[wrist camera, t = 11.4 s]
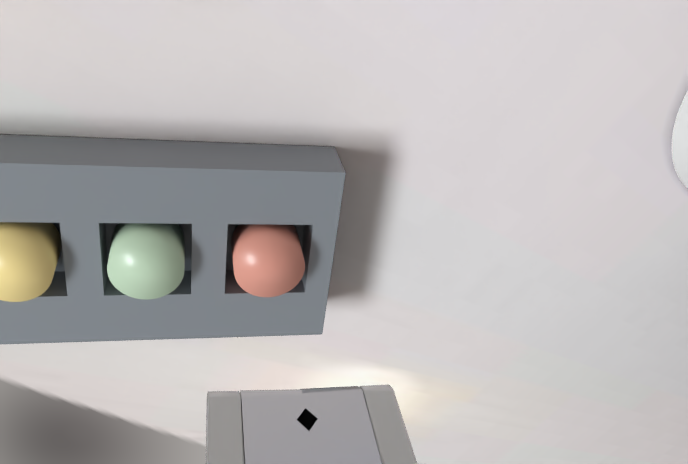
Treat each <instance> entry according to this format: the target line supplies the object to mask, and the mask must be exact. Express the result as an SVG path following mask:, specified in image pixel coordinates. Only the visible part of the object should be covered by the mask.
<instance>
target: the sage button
mask: <svg viewBox="0 0 688 464" xmlns="http://www.w3.org/2000/svg"><path fill="white" fill-rule="evenodd" d="M184 267H185V238H184V234H183V231H182V229H181V228H180V226H179V225H178V224H156V223H118V225H117V226H116V228H115V229H114V232H113V236H112V242H111V247H110V253H109V259H108V264H107V273H108V277H109V279H110V281H111V283H112V284H113V286H114V287H115V288H116V289H117V290H119V291H120V292H122V293H123V294H125V295H127V296H130V297H132V298H137V299H146V300H148V299H156V298H160V297H163V296H166V295H167V294H169V293H171V292H172V291H174V290H175V289H176V288H177V287H178V286H179V284H180V283H181V281H182V279H183V276H184Z"/></svg>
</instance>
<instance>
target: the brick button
mask: <svg viewBox="0 0 688 464" xmlns="http://www.w3.org/2000/svg"><path fill="white" fill-rule="evenodd" d="M231 248H232V258H233V268H234V276H235V279H236V281H237V283H238V285H239V286H240V287H241V288H242V289H243V290H245V291H246V292H248V293H249V294H252V295H254V296H258V297H275V296H279V295H282V294H285V293H287V292H289V291H290V290H292V289H293V288H294V287H295V286H296V285H297V284H298V283H299V282H300V280H301V279H302V277H303V274H304V271H305V261H304V257H303V253H302V249H301V245H300V241H299V238H298V234H297V230H296V228H295V227H294V225H272V224H239V225H238V226H237V227H236V229H235V230H234V232H233V235H232V238H231Z"/></svg>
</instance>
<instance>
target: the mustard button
mask: <svg viewBox="0 0 688 464" xmlns="http://www.w3.org/2000/svg"><path fill="white" fill-rule="evenodd" d="M61 248H62V241H61V236H60V233H59V231H58V230H57V228H56V227H55V226H54V224H53V223H39V222H0V300H2V301H8V302H22V301H28V300H31V299H34V298H36V297H38V296H40V295H41V294H43V293H44V292H45V291H46V290H47V289H48V288H49V286H50V284H51V282H52V279H53V276H54V272H55V269H56V266H57V262H58V259H59V255H60V252H61Z"/></svg>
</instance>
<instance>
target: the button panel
mask: <svg viewBox="0 0 688 464" xmlns="http://www.w3.org/2000/svg"><path fill="white" fill-rule="evenodd" d="M345 174H346V172H345V170H344V168H343V165H342V163H341V161H340V158H339V156H338V154H337V152H336V149H335V147H329V146H303V145H276V144H249V143H222V142H195V141H168V140H141V139H114V138H87V137H60V136H33V135H6V134H0V222H39V223H53V224H54V226H55V227H56V228H57V230H58V231H59V233H60V236H61V241H62V248H61V252H60V255H59V259H58V262H57V266H56V269H55V272H54V276H53V279H52V282H51V284H50V286H49V288H48V289H47V290H46V291H45V292H44V293H43V294H41V295H40V296H38V297H36V298H34V299H31V300H28V301H22V302H8V301H2V300H0V344H27V343H59V342H91V341H123V340H155V339H188V338H220V337H252V336H284V335H316V334H322V332H323V325H324V318H325V311H326V304H327V297H328V291H329V284H330V277H331V270H332V263H333V256H334V249H335V242H336V236H337V229H338V222H339V215H340V208H341V201H342V194H343V188H344V181H345ZM118 223H156V224H178V225H179V226H180V228H181V229H182V231H183V234H184V238H185V267H184V276H183V279H182V281H181V283H180V284H179V286H178V287H177V288H176V289H175V290H174V291H172V292H171V293H169V294H167V295H166V296H163V297H160V298H156V299H148V300H146V299H137V298H132V297H130V296H127V295H125V294H123V293H122V292H120V291H119V290H117V289H116V288H115V287H114V286H113V284H112V283H111V281H110V279H109V277H108V273H107V264H108V259H109V253H110V247H111V242H112V236H113V232H114V229H115V228H116V226H117V225H118ZM239 224H272V225H294V227H295V228H296V230H297V234H298V238H299V241H300V245H301V249H302V253H303V257H304V261H305V271H304V274H303V277H302V279H301V280H300V282H299V283H298V284H297V285H296V286H295V287H294V288H293V289H292V290H290V291H289V292H287V293H285V294H282V295H279V296H275V297H258V296H254V295H252V294H249V293H248V292H246V291H245V290H243V289H242V288H241V287H240V286H239V285H238V283H237V281H236V279H235V276H234V268H233V258H232V248H231V238H232V235H233V232H234V230H235V229H236V227H237V226H238V225H239Z"/></svg>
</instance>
